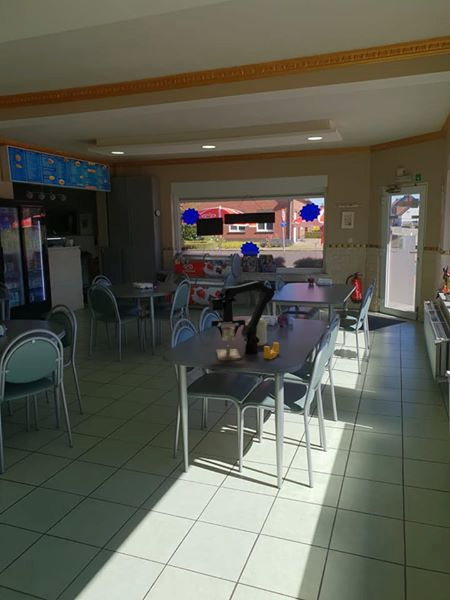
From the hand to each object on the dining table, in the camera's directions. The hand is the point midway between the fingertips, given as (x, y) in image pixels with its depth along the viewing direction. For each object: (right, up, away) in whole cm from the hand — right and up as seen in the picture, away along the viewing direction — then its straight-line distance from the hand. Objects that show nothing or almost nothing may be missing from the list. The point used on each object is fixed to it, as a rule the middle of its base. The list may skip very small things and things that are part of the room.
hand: (228, 337), depth 259 cm
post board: (0, -10, +2) cm, 10 cm away
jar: (+17, -6, +28) cm, 34 cm away
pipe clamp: (+25, -11, +1) cm, 27 cm away
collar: (0, -1, 0) cm, 1 cm away
